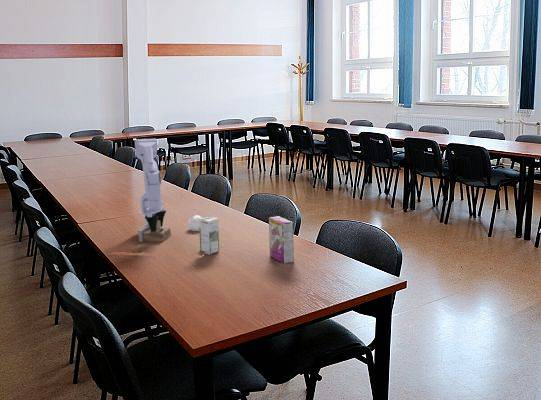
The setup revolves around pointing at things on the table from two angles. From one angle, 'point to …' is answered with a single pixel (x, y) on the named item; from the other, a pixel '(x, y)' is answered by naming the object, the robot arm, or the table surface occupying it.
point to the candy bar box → (281, 239)
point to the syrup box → (209, 235)
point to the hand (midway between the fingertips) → (156, 228)
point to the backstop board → (143, 232)
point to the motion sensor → (194, 223)
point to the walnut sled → (157, 235)
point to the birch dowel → (158, 226)
